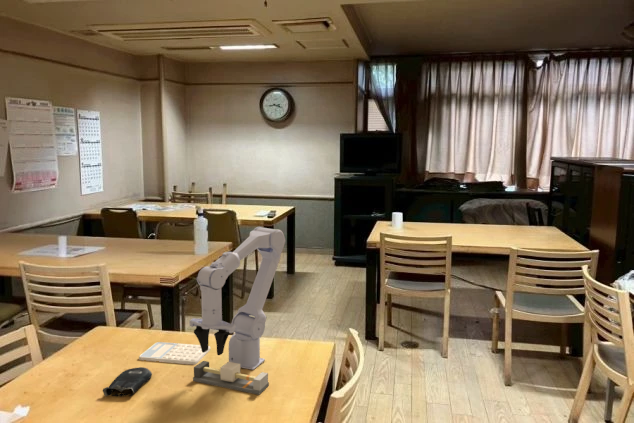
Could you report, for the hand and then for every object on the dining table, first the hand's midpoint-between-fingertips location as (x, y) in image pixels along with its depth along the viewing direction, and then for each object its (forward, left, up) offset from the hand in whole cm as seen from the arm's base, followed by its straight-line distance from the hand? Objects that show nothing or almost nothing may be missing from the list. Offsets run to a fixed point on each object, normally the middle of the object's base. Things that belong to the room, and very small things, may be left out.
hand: (212, 352), depth 151 cm
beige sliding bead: (+6, 0, -7) cm, 9 cm away
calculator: (-22, +11, -9) cm, 26 cm away
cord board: (+6, 0, -8) cm, 10 cm away
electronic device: (-20, -12, -9) cm, 25 cm away
